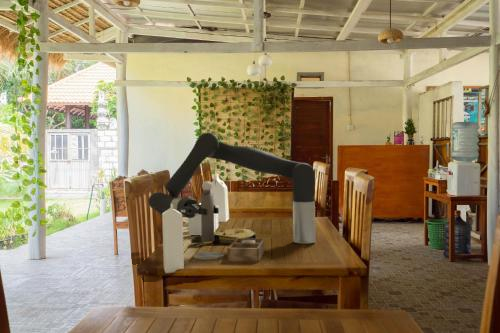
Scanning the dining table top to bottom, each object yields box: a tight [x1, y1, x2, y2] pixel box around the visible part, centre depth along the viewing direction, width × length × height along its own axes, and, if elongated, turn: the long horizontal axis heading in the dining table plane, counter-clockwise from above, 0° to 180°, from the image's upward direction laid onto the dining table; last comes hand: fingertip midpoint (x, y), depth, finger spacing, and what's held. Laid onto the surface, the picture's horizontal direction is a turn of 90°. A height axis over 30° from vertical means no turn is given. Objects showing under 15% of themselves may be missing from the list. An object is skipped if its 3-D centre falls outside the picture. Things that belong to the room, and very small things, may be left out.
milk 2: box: [210, 173, 230, 223], centre depth 259 cm, size 12×12×26 cm
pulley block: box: [190, 227, 257, 245], centre depth 197 cm, size 14×6×30 cm
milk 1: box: [161, 204, 185, 274], centre depth 153 cm, size 6×6×22 cm
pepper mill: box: [200, 180, 214, 243], centre depth 168 cm, size 5×5×22 cm
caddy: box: [226, 237, 266, 263], centre depth 168 cm, size 11×18×6 cm, turn 172°
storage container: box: [187, 206, 220, 236], centre depth 227 cm, size 25×11×11 cm, turn 177°
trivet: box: [193, 251, 225, 260], centre depth 169 cm, size 11×11×1 cm
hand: (212, 211), depth 166 cm, fingers closed on pepper mill, 4 cm apart
